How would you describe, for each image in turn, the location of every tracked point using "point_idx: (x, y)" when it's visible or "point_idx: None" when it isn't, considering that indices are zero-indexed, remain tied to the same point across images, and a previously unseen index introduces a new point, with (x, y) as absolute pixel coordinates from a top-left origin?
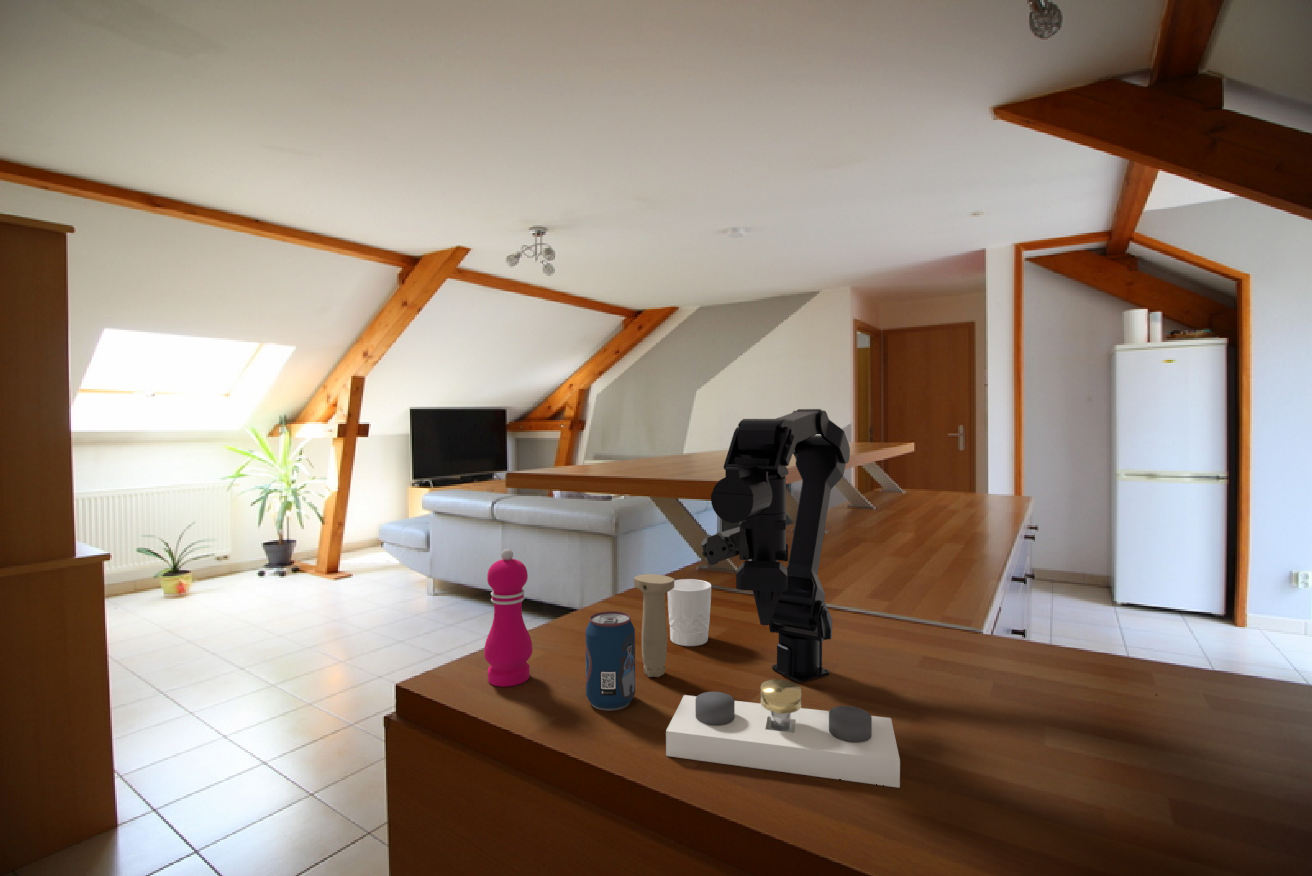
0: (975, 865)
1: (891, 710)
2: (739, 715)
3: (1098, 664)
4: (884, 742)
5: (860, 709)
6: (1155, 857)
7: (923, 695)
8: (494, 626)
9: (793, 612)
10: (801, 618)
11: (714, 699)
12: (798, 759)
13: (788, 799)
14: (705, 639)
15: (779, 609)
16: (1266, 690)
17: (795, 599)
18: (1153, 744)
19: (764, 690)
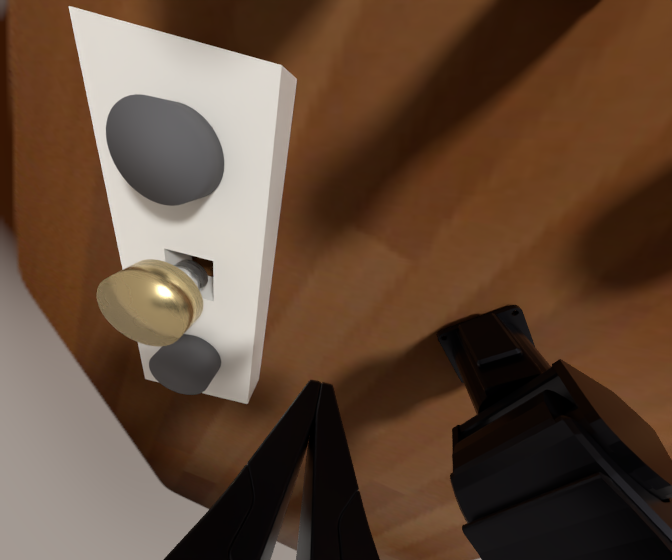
0: (78, 364)
1: (338, 404)
2: (202, 209)
3: (432, 554)
4: None
5: (201, 390)
6: (142, 448)
7: (378, 441)
8: None
9: (494, 467)
10: (467, 462)
11: (157, 154)
12: None
13: (94, 244)
14: None
15: (535, 450)
16: None
17: (513, 525)
18: (287, 510)
19: (111, 279)
